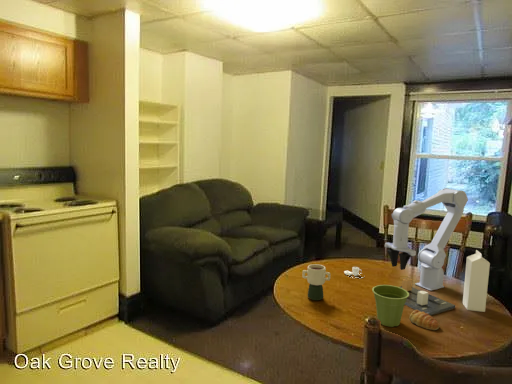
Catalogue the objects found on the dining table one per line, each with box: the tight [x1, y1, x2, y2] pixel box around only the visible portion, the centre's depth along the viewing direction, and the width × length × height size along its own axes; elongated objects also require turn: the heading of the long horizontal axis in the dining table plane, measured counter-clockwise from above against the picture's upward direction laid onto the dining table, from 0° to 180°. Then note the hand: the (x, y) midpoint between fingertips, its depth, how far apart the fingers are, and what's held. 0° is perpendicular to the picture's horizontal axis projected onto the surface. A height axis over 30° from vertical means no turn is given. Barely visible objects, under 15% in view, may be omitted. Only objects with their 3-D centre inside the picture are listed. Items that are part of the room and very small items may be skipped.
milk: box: [462, 249, 491, 313], centre depth 136 cm, size 6×6×22 cm
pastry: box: [408, 309, 441, 331], centre depth 123 cm, size 9×7×4 cm
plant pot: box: [372, 284, 409, 328], centre depth 124 cm, size 12×12×11 cm
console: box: [399, 285, 456, 317], centre depth 143 cm, size 15×22×1 cm
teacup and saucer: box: [343, 266, 364, 279], centre depth 170 cm, size 9×8×4 cm
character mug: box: [301, 263, 331, 301], centre depth 142 cm, size 11×7×13 cm, turn 77°
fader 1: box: [401, 277, 413, 291], centre depth 150 cm, size 3×2×4 cm
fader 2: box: [417, 290, 429, 305], centre depth 136 cm, size 3×2×4 cm
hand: (398, 267), depth 153 cm, fingers open, 4 cm apart
